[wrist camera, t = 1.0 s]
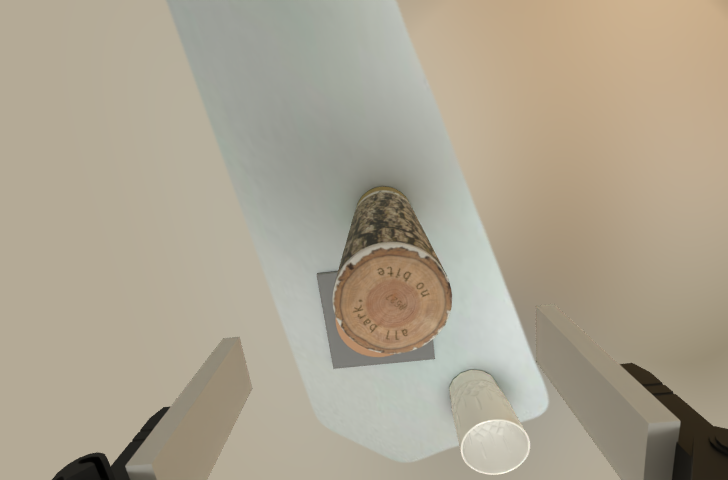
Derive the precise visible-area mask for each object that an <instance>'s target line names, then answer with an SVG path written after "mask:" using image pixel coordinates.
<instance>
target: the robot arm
mask: <svg viewBox="0 0 728 480" xmlns="http://www.w3.org/2000/svg"><path fill="white" fill-rule="evenodd" d="M536 362H537V363H538V365H539V366H540V368H541V369H542V370H543V372H544V373H545V375H546V376H547V377H548V379H549V380H550V381H551V383H552V384H553V386H554V387H555V388H556V389H557V391H558V393H559V394H560V395H561V397H562V398H563V400H564V401H565V402H566V404H567V405H568V406H569V408H570V409H571V411H572V412H573V413H574V415H575V416H576V417H577V419H578V420H579V422H580V423H581V425H582V426H583V427H584V429H585V430H586V432H587V433H588V434H589V436H590V437H591V438H592V440H593V441H594V443H595V444H596V445H597V447H598V448H599V450H600V451H601V452H602V454H603V455H604V457H605V458H606V459H607V461H608V462H609V463H610V465H611V466H612V467H613V469H614V470H615V472H616V473H617V475H618V476H619V477H620V479H621V480H728V429H725V428H720V427H716V426H713V425H711V424H710V423H709V422H708V421H707V420H705V419H704V418H703V417H702V416H701V415H700V414H698V413H697V412H696V411H695V410H694V409H692V408H691V407H690V406H689V405H688V404H687V403H685V402H684V401H683V400H682V399H681V398H680V397H678V396H677V395H676V394H673V391H671V390H670V389H669V388H668V387H667V386H665V385H663V384H662V382H660V380H658V379H657V378H656V377H655V376H654V375H653V374H651V373H650V372H649V371H646V370H645V369H643V368H641V367H639V366H637V365H635V364H633V363H627V364H618V363H617V362H616V361H615V360H614V359H613V358H612V357H611V356H610V355H609V354H608V353H606V352H605V351H604V350H603V349H602V348H601V347H600V346H599V345H598V344H597V343H596V342H595V341H594V340H592V339H591V338H590V337H589V336H588V335H587V334H586V333H585V332H584V331H583V330H581V328H579V327H578V326H577V325H576V324H575V323H574V322H573V321H572V320H571V319H570V318H569V317H568V316H567V315H565V314H564V313H563V312H562V311H561V310H560V309H559V308H558V307H557V306H556V305H555V304H549V305H540V306H536ZM251 390H252V385H251V381H250V377H249V373H248V369H247V365H246V361H245V357H244V353H243V349H242V345H241V341H240V337H233V338H223V339H222V341H221V342H220V343H219V345H218V346H217V347H216V348H215V350H214V351H213V352H212V354H211V355H210V356H209V357H208V359H207V360H206V361H205V363H204V364H203V365H202V367H201V368H200V369H199V371H198V372H197V373H196V374H195V376H194V377H193V378H192V380H191V381H190V382H189V383H188V385H187V386H186V387H185V389H184V390H183V391H182V393H181V394H180V395H179V397H178V398H177V399H176V400H175V402H174V403H173V404H172V406H171V407H163V408H162V409H161V410H160V411H158V412H157V413H156V414H155V415H153V416H152V417H151V418H150V419H149V420H148V421H147V423H146V424H145V425H144V426H143V427H142V429H141V430H140V432H139V433H138V434H137V435H136V436H135V437H134V439H133V441H132V442H130V443H129V445H128V446H127V447H126V448H125V450H124V451H123V452H122V454H121V455H120V456H119V457H118V458H117V460H116V461H115V462H114V463H113V465H112V466H111V467H110V464H109V462H108V459H107V457H106V456H105V454H103V453H92V454H88V455H86V456H83V457H80V458H78V459H76V460H75V461H73V462H71V463H70V464H68V465H67V466H65V467H64V468H63V469H62V470H61V471H59V472H58V473H57V474H56V476H55V477H54V478H53V479H52V480H207V479H208V477H209V475H210V473H211V471H212V469H213V467H214V465H215V463H216V461H217V459H218V457H219V455H220V453H221V451H222V449H223V447H224V444H225V442H226V441H227V439H228V437H229V435H230V432H231V430H232V428H233V426H234V424H235V422H236V420H237V418H238V416H239V414H240V412H241V410H242V408H243V406H244V404H245V402H246V400H247V398H248V396H249V394H250V392H251Z"/></svg>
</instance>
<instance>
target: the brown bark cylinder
mask: <svg viewBox="0 0 728 480" xmlns="http://www.w3.org/2000/svg"><path fill="white" fill-rule="evenodd" d="M451 306H452V292H451V287H450V283H449V280H448V278H447V275H446V273H445V271H444V269H443V267H442V265H441V263H440V261H439V259H438V258H437V256H436V254H435V252H434V250H433V248H432V246H431V244H430V242H429V240H428V238H427V236H426V234H425V232H424V230H423V228H422V227H421V225H420V223H419V221H418V219H417V217H416V215H415V213H414V211H413V209H412V207H411V205H410V204H409V202H408V200H407V198H406V197H405V196H404V195H403V194H402V193H401V192H400V191H398V190H396V189H394V188H391V187H377V188H373V189H371V190H369V191H368V192H366V193H365V194H364V195H363V196H362V197H361V199H360V200H359V202H358V204H357V207H356V210H355V213H354V217H353V220H352V224H351V227H350V231H349V235H348V238H347V242H346V245H345V249H344V252H343V256H342V259H341V263H340V266H339V270H338V273H337V277H336V280H335V284H334V290H333V309H334V313H335V316H336V319H337V321H338V323H339V325H340V327H341V328H342V330H343V331H344V332H345V333H346V334H347V336H348V337H349V338H351V339H352V340H353V341H354V342H356V343H357V344H359V345H360V346H362V347H364V348H366V349H369V350H372V351H375V352H379V353H385V354H399V353H405V352H409V351H412V350H415V349H418V348H420V347H422V346H424V345H425V344H427V343H428V342H430V341H431V340H432V339H433V338H435V337H436V336H437V335H438V334H439V332H440V331H441V330H442V328H443V327H444V325H445V324H446V322H447V320H448V317H449V314H450V311H451Z"/></svg>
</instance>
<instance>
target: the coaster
mask: <svg viewBox="0 0 728 480" xmlns="http://www.w3.org/2000/svg"><path fill="white" fill-rule="evenodd" d="M337 273H338V271H334V272H325V273H317V280H318V285H319V291H320V296H321V302H322V307H323V313H324V319H325V324H326V330H327V335H328V341H329V346H330V352H331V358H332V363H333V369H336V368H346V367H356V366H367V365H377V364H388V363H398V362H408V361H419V360H429V359H435V357H434V346H433V339H432V340H431V341H430V342H428V343H427V344H425V345H424V346H422V347H420V348H418V349H415V350H412V351H409V352H405V353H399V354H385V353H379V352H375V351H372V350H369V349H366V348H364V347H362V346H360V345H359V344H357V343H356V342H354V341H353V340H352V339H351V338H349V337H348V336H347V334H346V333H345V332H344V331H343V330H342V328H341V327H340V325H339V323H338V321H337V319H336V316H335V313H334V309H333V290H334V284H335V280H336V277H337Z"/></svg>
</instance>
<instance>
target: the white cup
mask: <svg viewBox="0 0 728 480" xmlns="http://www.w3.org/2000/svg"><path fill="white" fill-rule="evenodd" d="M449 392H450V399H451V404H452V412H453V418H454V423H455V427H456V432H457V437H458V441H459V446H460V451H461V455H462V458H463V459H464V461H465V462H466V464H467V465H468V466H469V467H470V468H472V469H474V470H475V471H477V472H480V473H484V474H489V475H497V474H503V473H507V472H510V471H512V470H514V469H516V468H517V467H518V466H520V465H521V464H522V463H523V462H524V461H525V459H526V458H527V456H528V454H529V451H530V440H529V437H528V435H527V433H526V431H525V429H524V428H523V426H522V424H521V423H520V421H519V419H518V417H517V416H516V414H515V412H514V410H513V409H512V407H511V405H510V403H509V402H508V400H507V398H506V397H505V395H504V394H503V392H502V391H501V390H500V388H499V387H498V385H497V383H496V382H495V380H494V379H493V377H492V376H491V375H489V374H487V373H485V372H484V371H480V370H469V371H466V372H463V373H460V374H459V375H458V376H457V377H456V378H454V379H453V381H452V383H451V385H450V388H449Z"/></svg>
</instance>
